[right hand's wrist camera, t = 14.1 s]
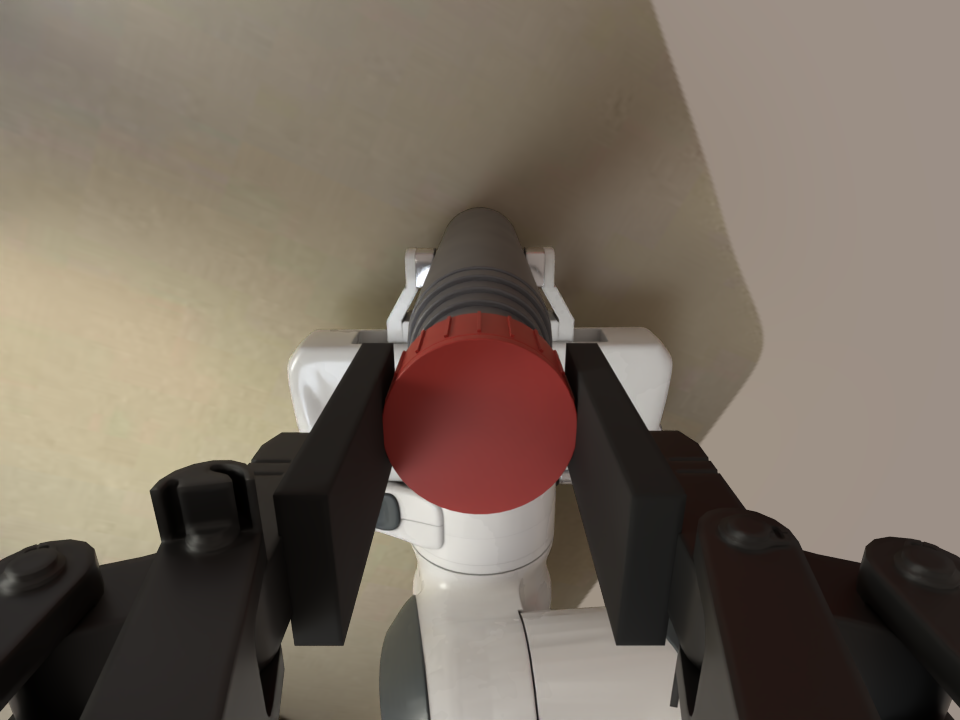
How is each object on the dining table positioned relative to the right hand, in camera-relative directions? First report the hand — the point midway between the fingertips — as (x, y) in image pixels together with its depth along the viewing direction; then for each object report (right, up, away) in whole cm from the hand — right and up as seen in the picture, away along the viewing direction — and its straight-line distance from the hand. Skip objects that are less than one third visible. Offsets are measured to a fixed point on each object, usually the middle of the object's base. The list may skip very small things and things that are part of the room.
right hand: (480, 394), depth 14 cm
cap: (0, -1, -2) cm, 2 cm away
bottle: (0, +8, +21) cm, 22 cm away
